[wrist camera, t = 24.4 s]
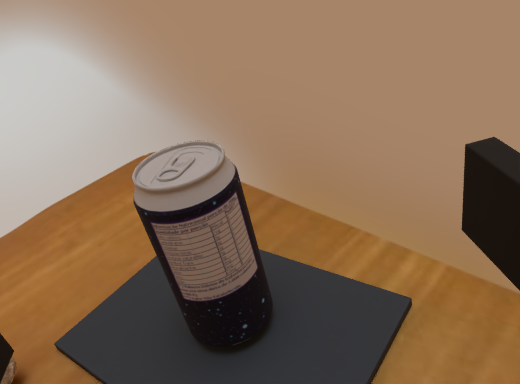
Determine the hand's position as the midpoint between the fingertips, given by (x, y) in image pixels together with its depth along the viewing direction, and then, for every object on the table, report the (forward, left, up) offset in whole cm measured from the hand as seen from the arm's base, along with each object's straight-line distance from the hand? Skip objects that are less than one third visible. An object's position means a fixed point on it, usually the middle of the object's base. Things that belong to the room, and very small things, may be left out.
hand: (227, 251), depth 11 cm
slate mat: (+10, -6, -15) cm, 19 cm away
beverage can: (+10, -6, -15) cm, 19 cm away
